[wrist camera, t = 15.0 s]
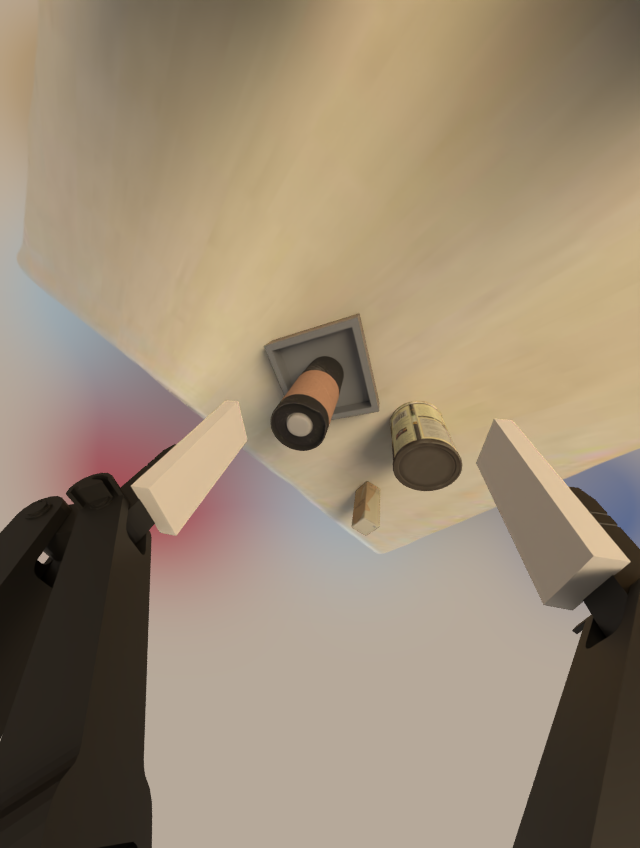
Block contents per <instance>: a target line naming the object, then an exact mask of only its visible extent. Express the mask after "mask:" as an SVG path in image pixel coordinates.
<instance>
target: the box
mask: <svg viewBox="0 0 640 848" xmlns="http://www.w3.org/2000/svg"><path fill="white" fill-rule="evenodd" d="M379 527H380V489H379V488H377V487H376V486H374V485H372V484H371V483H369V482H366V483H364V484H363V485H362V486H361V487H360V488H359V489H357V490H356V494H355V502H354V511H353V519H352V528H353V529H355V530H357V531H358V532H360V533H362V534H363V535H365V536H367V535H368V534H370V533H371V532H373V531H374V530H376V529H377V528H379Z"/></svg>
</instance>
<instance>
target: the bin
mask: <svg viewBox="0 0 640 848" xmlns="http://www.w3.org/2000/svg"><path fill="white" fill-rule="evenodd" d="M264 348H265V350H266V353H267V355H268V357H269V360H270V362H271V365H272V367H273V370H274V372H275V374H276V377H277V379H278V382H279V384H280V386H281V389H282V391H283V394H284V396H285V395H286V394H287V392H288V391H289V390H290V388H291V387H292V385H293V384H294V383H295V381H296V380H297V379H298V377H299V376H300V375H301V374H302V373H303V371H304V370H305V369H306V368H307V367H308V366H309V365H310V363H311V362H312V361H313V360H315V359H316V358H318V357H322V356H328V357H332V358H334V359H336V360H337V361H338V362H339V363H340V364H341V366H342V368H343V372H344V378H343V382H342V386H341V390H340V394H339V398H338V401H337V404H336V407H335V410H334V413H333V415H332V418H331V420H334V419H340V418H345V417H351V416H357V415H362V414H368V413H374V412H379V399H378V394H377V390H376V385H375V381H374V376H373V372H372V367H371V363H370V358H369V354H368V349H367V345H366V340H365V336H364V332H363V327H362V323H361V318H360V314H356V315H352V316H349V317H346V318H343V319H340V320H336V321H333V322H330V323H327V324H324V325H320V326H317V327H314V328H311V329H308V330H305V331H301V332H298V333H295V334H292V335H289V336H285V337H282V338H279V339H276V340H273V341H271V342H269V343H268V344H266V345H265V346H264Z"/></svg>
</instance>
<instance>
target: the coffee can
mask: <svg viewBox="0 0 640 848" xmlns="http://www.w3.org/2000/svg"><path fill="white" fill-rule="evenodd" d="M390 427H391V437H392V450H393V471H394V474H395V476H396V478H397V479H398V480H399V481H400V482H401V483H402V484H403V485H405V486H406V487H409V488H411V489H415V490H420V491H433V490H438V489H442V488H444V487H446V486H448V485H450V484H452V483H453V482H454V481H455V480H456V479H457V478H458V477H459V475H460V473H461V470H462V460H461V458H460V456H459V454H458V452H457V451H456V449H455V446H454V444H453V442H452V439H451V437H450V435H449V432H448V430H447V428H446V425H445V423H444V421H443V419H442V415H441V413H440V411H439V410H438V409H437V408H436V407H435V406H433V405H432V404H429V403H426V402H420V401H414V402H409V403H406V404H404V405H402V406H401V407H399V408H398V409H397V410H396V411H395V412H394V414H393V415H392V417H391V421H390Z"/></svg>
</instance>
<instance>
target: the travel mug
mask: <svg viewBox="0 0 640 848" xmlns="http://www.w3.org/2000/svg"><path fill="white" fill-rule="evenodd" d="M343 378H344V372H343V368H342V366H341V364H340V363H339V362H338V361H337V360H336V359H334V358H332V357H328V356H322V357H318V358H316V359H315V360H313V361H312V362H311V363H310V365H309V366H308V367H307V368H306V369H305V370H304V371H303V373H302V374H301V375H300V376H299V377H298V379H297V380H296V381H295V383H294V384H293V385H292V387H291V388H290V390H289V391H288V392H287V394H286V395H285V396H284V398H283V399H282V401H281V402H280V403H279V405H278V406H277V407H276V409H275V410H274V412H273V414H272V417H271V428H272V431H273V433H274V435H275V437H276V438H277V439H278V440H279V441H280V442H281V443H282V444H284V445H285V446H287V447H289V448H291V449H294V450H299V451H306V450H311V449H314V448H316V447H317V446H319V445H320V444H321V443H322V441H323V440H324V438H325V435H326V432H327V430H328V427H329V424H330V421H331V418H332V415H333V413H334V410H335V407H336V404H337V401H338V398H339V394H340V390H341V386H342V382H343Z"/></svg>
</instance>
